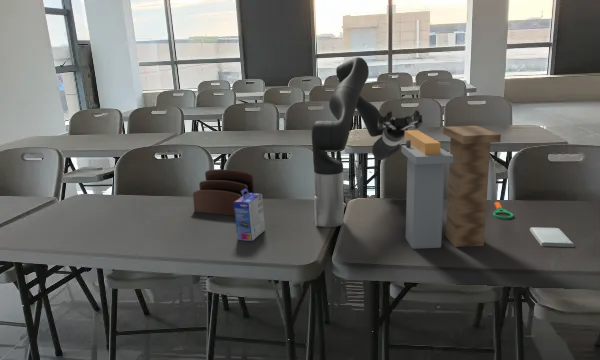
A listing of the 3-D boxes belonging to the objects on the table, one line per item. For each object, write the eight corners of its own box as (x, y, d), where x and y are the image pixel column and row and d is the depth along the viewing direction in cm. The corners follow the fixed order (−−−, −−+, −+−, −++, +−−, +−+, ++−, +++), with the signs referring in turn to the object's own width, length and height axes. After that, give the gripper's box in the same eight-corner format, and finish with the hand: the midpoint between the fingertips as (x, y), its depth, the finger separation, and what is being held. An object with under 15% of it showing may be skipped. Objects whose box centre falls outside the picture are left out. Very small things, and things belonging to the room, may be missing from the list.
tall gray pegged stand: (413, 254, 132) (416, 149, 125) (399, 233, 147) (401, 138, 140) (448, 253, 132) (453, 147, 125) (431, 232, 148) (434, 137, 140)
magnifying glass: (514, 221, 156) (515, 216, 155) (494, 220, 157) (495, 215, 157) (506, 206, 170) (506, 202, 170) (487, 206, 171) (488, 201, 171)
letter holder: (209, 204, 184) (205, 167, 180) (256, 208, 176) (253, 170, 173) (193, 212, 175) (190, 174, 171) (242, 217, 167) (240, 177, 164)
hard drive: (574, 243, 133) (559, 227, 145) (541, 242, 135) (529, 226, 146) (573, 249, 134) (558, 232, 145) (541, 247, 135) (529, 231, 147)
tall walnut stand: (457, 252, 132) (463, 135, 124) (439, 231, 148) (443, 126, 140) (492, 251, 132) (500, 134, 124) (470, 230, 148) (476, 125, 140)
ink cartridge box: (249, 228, 155) (246, 185, 152) (265, 230, 154) (263, 186, 150) (235, 240, 146) (232, 193, 143) (252, 241, 145) (249, 195, 141)
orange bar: (424, 154, 127) (425, 143, 126) (404, 140, 148) (404, 130, 148) (440, 154, 127) (440, 142, 127) (417, 139, 149) (417, 130, 148)
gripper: (373, 122, 173) (381, 103, 157) (413, 121, 173) (424, 102, 157) (374, 142, 171) (383, 124, 155) (415, 141, 171) (427, 123, 155)
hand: (404, 113), depth 156 cm, fingers open, 8 cm apart
